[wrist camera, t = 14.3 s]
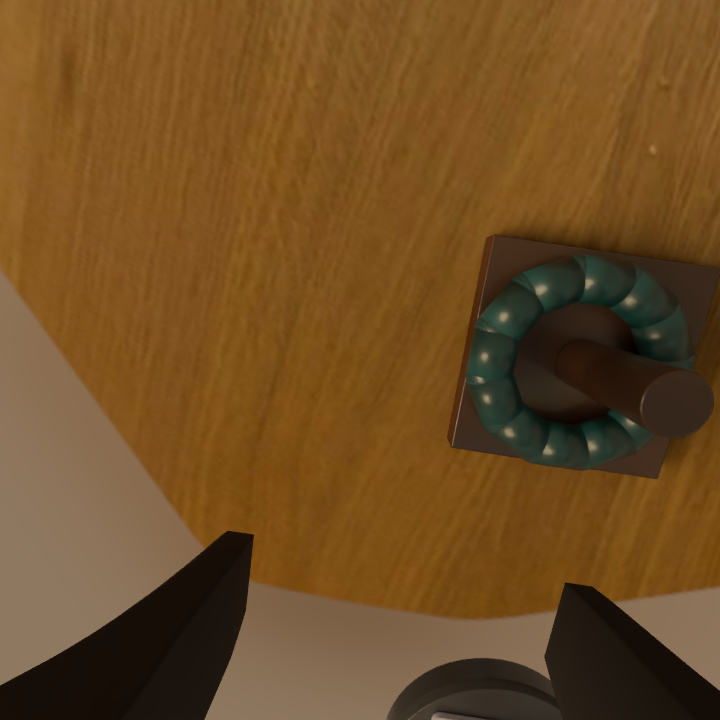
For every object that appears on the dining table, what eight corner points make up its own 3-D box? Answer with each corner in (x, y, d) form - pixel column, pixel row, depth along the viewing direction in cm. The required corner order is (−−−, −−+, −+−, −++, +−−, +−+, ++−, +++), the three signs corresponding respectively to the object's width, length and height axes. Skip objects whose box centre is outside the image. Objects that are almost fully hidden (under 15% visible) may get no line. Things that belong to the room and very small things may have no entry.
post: (641, 467, 20) (786, 573, 13) (446, 437, 20) (484, 526, 13) (700, 268, 18) (903, 265, 11) (486, 237, 18) (554, 213, 11)
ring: (641, 470, 19) (668, 490, 17) (447, 441, 19) (454, 458, 17) (698, 273, 17) (735, 272, 15) (485, 242, 17) (498, 238, 15)
